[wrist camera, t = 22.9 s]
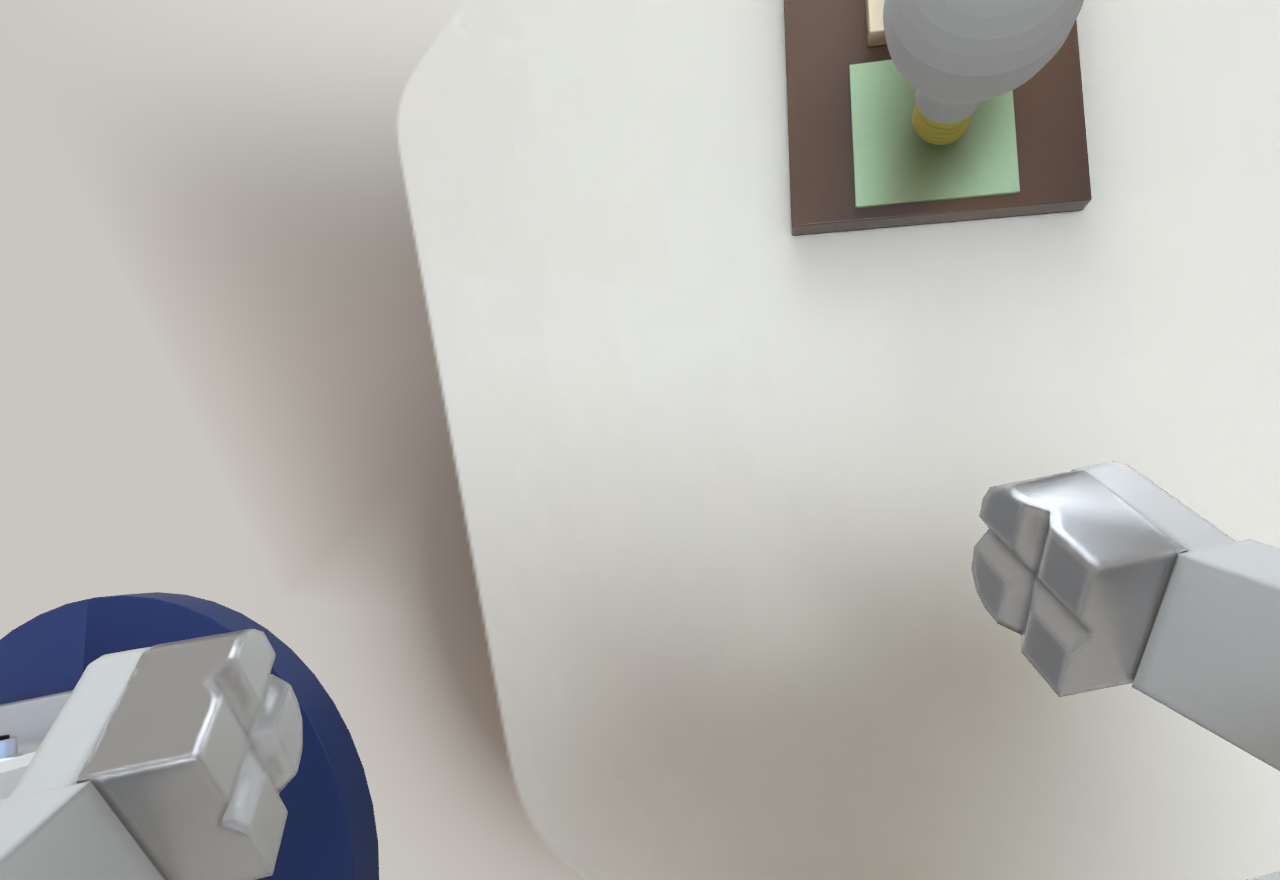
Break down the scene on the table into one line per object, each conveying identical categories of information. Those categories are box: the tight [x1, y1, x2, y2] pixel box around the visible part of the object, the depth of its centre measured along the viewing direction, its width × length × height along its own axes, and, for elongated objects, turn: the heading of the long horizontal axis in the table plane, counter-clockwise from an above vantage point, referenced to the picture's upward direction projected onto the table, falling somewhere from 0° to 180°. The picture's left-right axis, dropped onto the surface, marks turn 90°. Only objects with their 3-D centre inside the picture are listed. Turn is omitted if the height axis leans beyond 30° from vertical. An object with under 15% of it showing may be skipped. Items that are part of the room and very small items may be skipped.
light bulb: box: [883, 0, 1083, 145], centre depth 25 cm, size 5×6×10 cm
